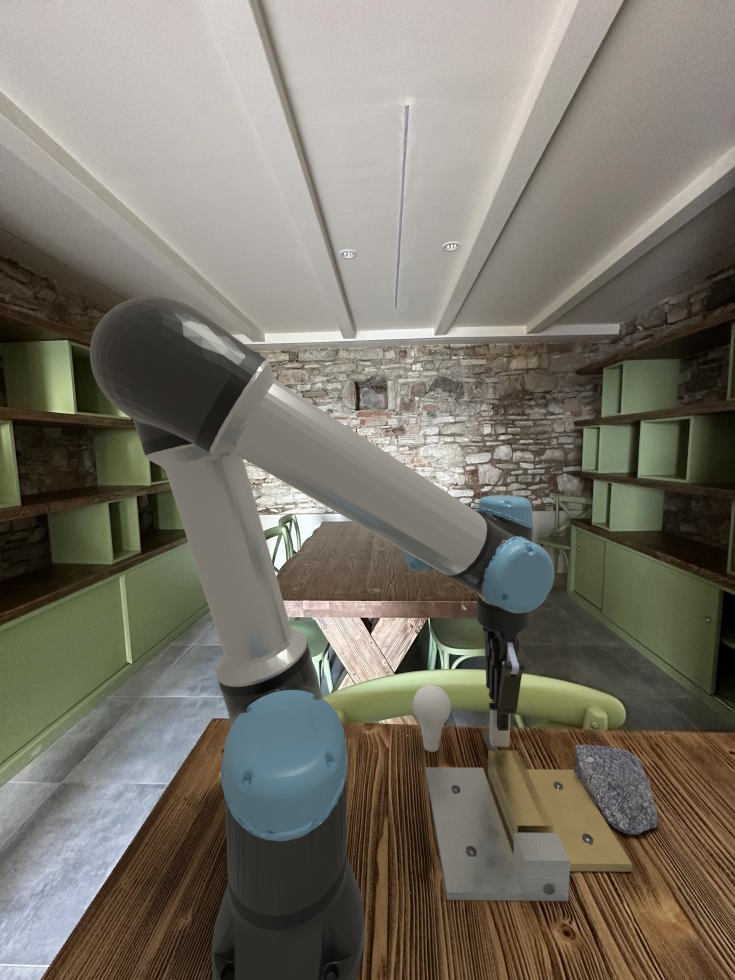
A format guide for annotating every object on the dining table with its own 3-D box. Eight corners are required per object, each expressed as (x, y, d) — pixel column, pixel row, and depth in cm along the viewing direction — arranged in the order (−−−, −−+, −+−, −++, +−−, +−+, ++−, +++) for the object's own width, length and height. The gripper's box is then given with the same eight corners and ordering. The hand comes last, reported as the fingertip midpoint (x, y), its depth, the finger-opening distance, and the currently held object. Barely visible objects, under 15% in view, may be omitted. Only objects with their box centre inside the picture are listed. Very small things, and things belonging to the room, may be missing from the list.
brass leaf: (519, 870, 48) (520, 833, 47) (485, 775, 62) (486, 745, 61) (631, 871, 48) (634, 834, 47) (572, 775, 61) (574, 745, 61)
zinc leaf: (446, 900, 45) (447, 859, 44) (420, 742, 69) (420, 715, 68) (568, 901, 45) (570, 860, 44) (499, 742, 68) (500, 715, 68)
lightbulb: (434, 771, 63) (435, 704, 61) (404, 749, 67) (405, 687, 66) (457, 751, 67) (458, 688, 65) (428, 732, 71) (429, 673, 70)
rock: (564, 742, 63) (628, 734, 63) (566, 771, 64) (629, 764, 64) (611, 815, 51) (689, 806, 51) (612, 850, 52) (689, 841, 52)
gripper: (545, 616, 54) (539, 777, 57) (513, 583, 67) (510, 715, 70) (489, 616, 54) (486, 776, 57) (468, 583, 67) (466, 715, 70)
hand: (499, 742), depth 63 cm, fingers closed
